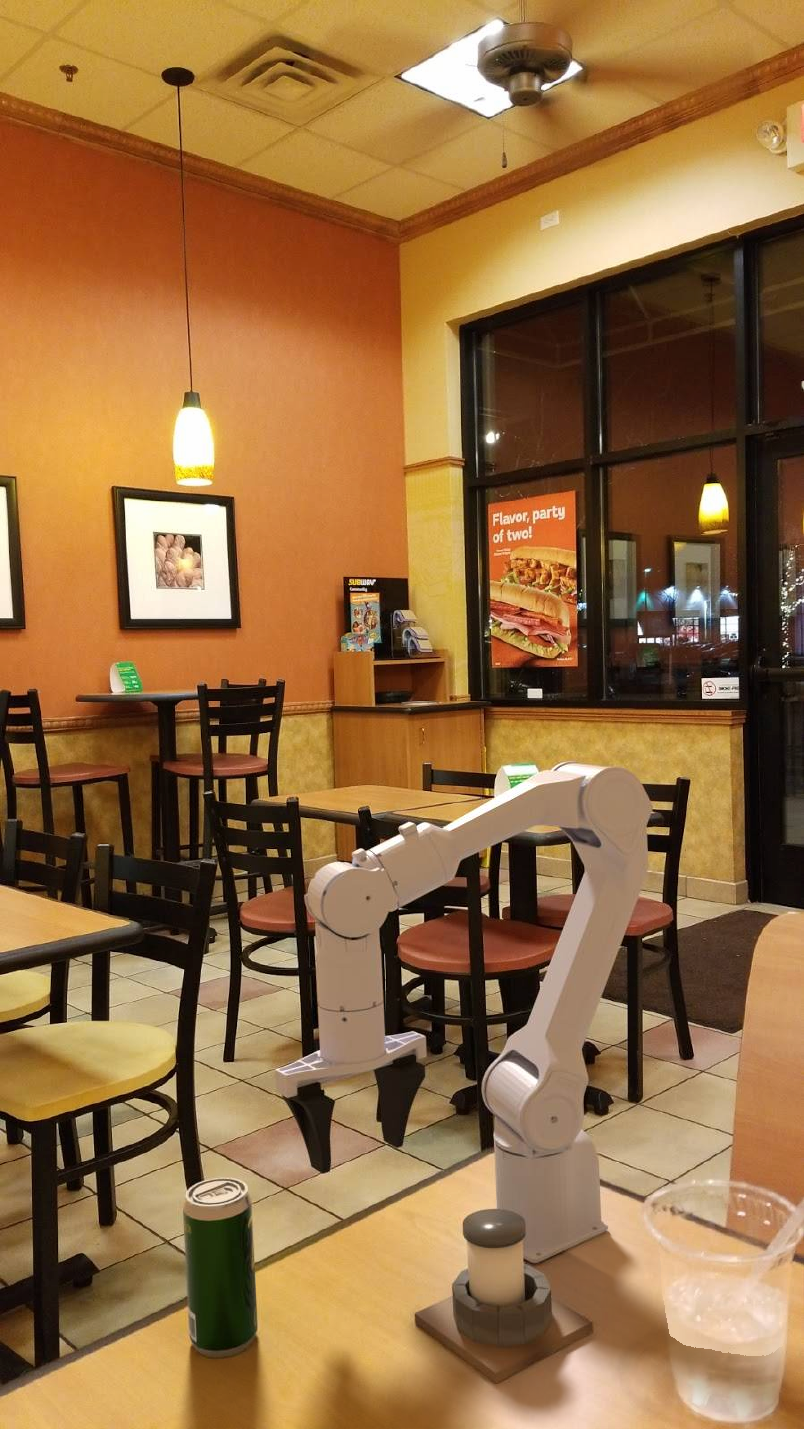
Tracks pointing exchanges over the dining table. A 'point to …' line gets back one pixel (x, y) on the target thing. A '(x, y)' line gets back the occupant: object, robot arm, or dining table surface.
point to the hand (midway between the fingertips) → (357, 1156)
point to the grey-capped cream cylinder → (495, 1256)
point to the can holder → (503, 1326)
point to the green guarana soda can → (220, 1267)
